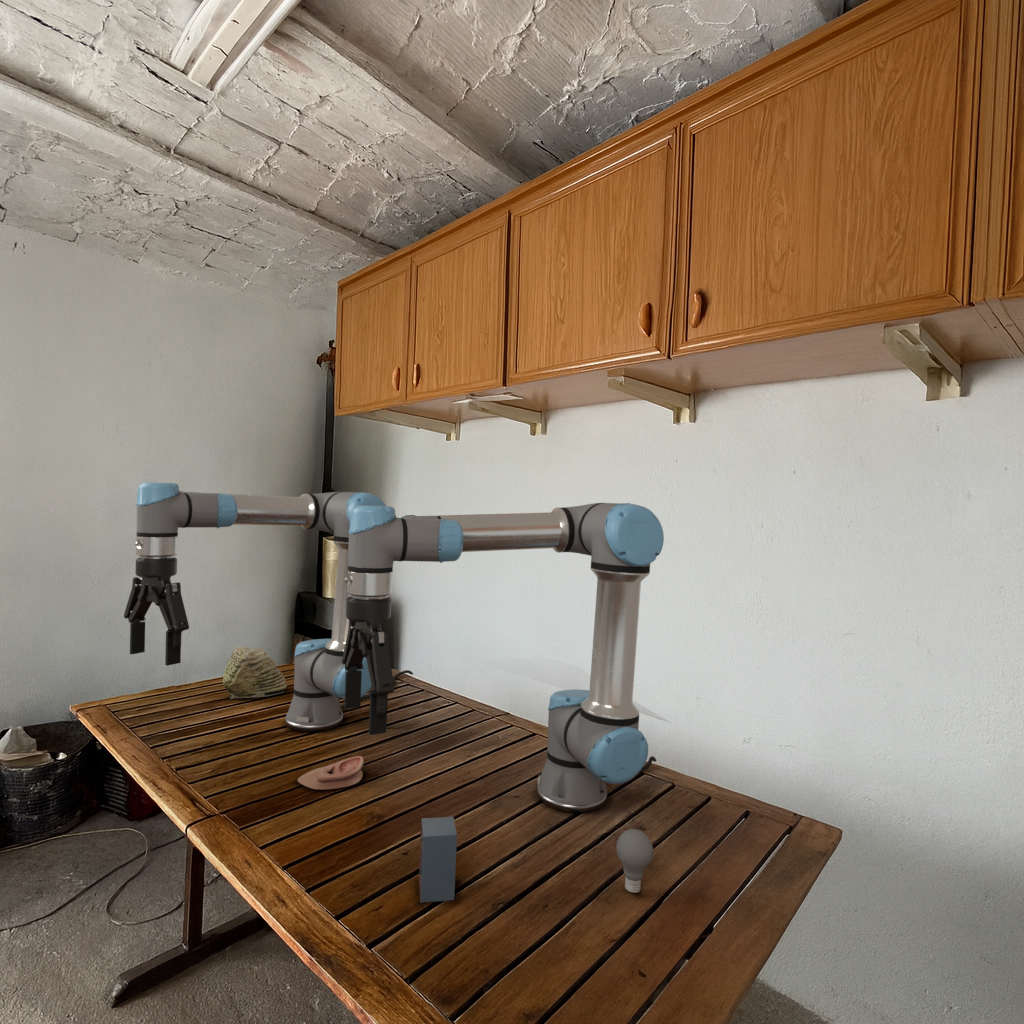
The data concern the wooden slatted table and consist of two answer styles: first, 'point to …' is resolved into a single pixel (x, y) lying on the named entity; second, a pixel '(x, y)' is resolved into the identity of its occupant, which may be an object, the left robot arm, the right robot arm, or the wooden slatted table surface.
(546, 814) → the wooden slatted table surface
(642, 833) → the light bulb
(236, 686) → the fossil
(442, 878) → the brick
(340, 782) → the anatomical model
